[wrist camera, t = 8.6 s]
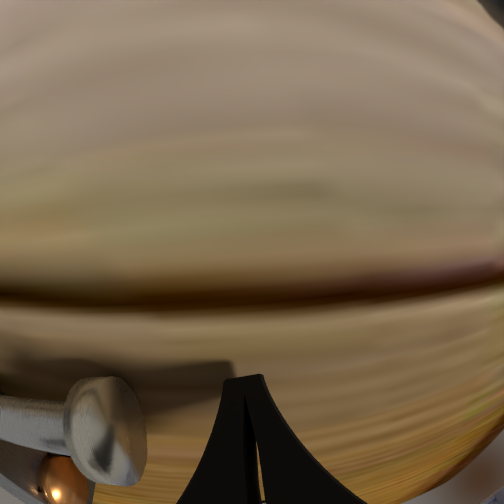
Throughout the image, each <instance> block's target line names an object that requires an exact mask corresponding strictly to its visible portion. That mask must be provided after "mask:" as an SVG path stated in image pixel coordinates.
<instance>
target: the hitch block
mask: <svg viewBox="0 0 504 504" xmlns="http://www.w3.org/2000/svg"><path fill="white" fill-rule="evenodd" d="M0 395H4V394H3V392H2V391H1V390H0ZM49 455H57V456H63V455H61V454H57V453H51V452H47V451H42V450H37V449H33V448H29V447H25V446H21V445H17V444H14V443H10V442H7V441H4V440H0V486H1V487H2V488H3V489H5V490H6V491H8V492H9V493H10V494H12V495H14V496H15V497H16V498H18V499H19V500H21V501H22V502H24V503H26V504H48V503H47V502H46V501H45V500H44V498H43V497H42V495H41V493H40V492H38V491H37V489H38V480H37V475H38V469H39V466H40V464H41V462H42V461H43V459H44V458H46V457H47V456H49ZM63 457H64V456H63ZM86 478H87V477H86ZM87 482H88V491H89V492H88V500H87V503H86V504H92V501H93V495H94V489H95V483H96V482H93V481H91V480H90V479H88V478H87Z"/></svg>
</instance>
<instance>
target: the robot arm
mask: <svg viewBox="0 0 504 504" xmlns="http://www.w3.org/2000/svg"><path fill="white" fill-rule="evenodd" d="M256 442H257V446H258V451H259V458H260V465H261V472H262V480H263V487H264V494H265V502H266V503H262V500H261V495H260V489H259V479H258V463H257V447H256ZM176 504H367V503H366V502H364V501H363V500H362V499H360V498H359V497H357V496H356V495H355V494H354V493H352V492H351V491H350V490H348V489H347V488H346V487H345V486H344V485H342V484H341V483H340V482H339V481H338V480H337V479H336V478H334V477H333V476H332V475H331V474H330V473H329V472H328V471H327V470H326V469H325V468H324V467H323V466H322V465H321V464H320V463H319V462H318V461H317V460H316V459H315V458H314V457H313V456H312V455H311V453H310V452H309V451H308V450H307V449H306V448H305V446H304V445H303V444H302V443H301V442H300V440H299V439H298V438H297V436H296V435H295V434H294V432H293V431H292V430H291V428H290V427H289V425H288V424H287V422H286V421H285V419H284V418H283V416H282V414H281V413H280V411H279V410H278V408H277V406H276V404H275V403H274V401H273V399H272V397H271V395H270V393H269V390H268V388H267V386H266V383H265V380H264V376H263V375H262V374H255V375H250V376H244V377H238V378H231V379H226V380H225V381H224V383H223V391H222V396H221V401H220V405H219V409H218V413H217V416H216V420H215V423H214V426H213V430H212V433H211V435H210V438H209V441H208V443H207V446H206V448H205V451H204V454H203V456H202V458H201V460H200V463H199V465H198V467H197V469H196V471H195V473H194V475H193V477H192V478H191V480H190V482H189V484H188V486H187V487H186V489H185V491H184V492H183V494H182V496H181V497H180V499H179V500H178V502H177V503H176ZM480 504H504V486H503V487H501V488H500V489H499V490H497V491H496V492H495V493H493V494H492V495H491V496H489V497H488V498H487V499H485V500H484V501H483V502H481V503H480Z"/></svg>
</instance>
